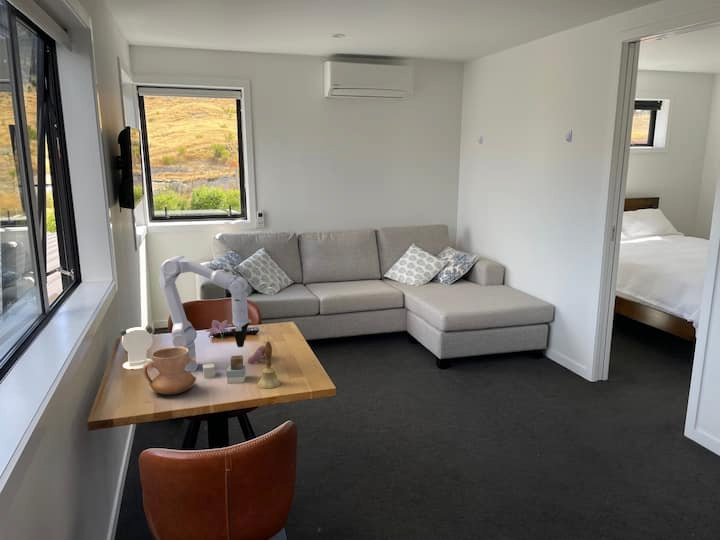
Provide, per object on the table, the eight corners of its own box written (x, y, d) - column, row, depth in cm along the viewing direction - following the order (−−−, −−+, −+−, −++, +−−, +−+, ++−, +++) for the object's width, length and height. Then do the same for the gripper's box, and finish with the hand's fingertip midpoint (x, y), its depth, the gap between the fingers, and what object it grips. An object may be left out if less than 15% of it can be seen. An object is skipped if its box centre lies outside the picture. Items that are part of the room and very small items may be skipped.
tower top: (226, 377, 195) (226, 371, 195) (228, 371, 201) (228, 365, 201) (243, 377, 196) (243, 370, 196) (245, 370, 202) (244, 364, 201)
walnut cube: (231, 369, 196) (230, 359, 195) (232, 366, 200) (231, 355, 199) (242, 369, 197) (241, 358, 196) (243, 365, 200) (242, 355, 200)
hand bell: (266, 378, 200) (264, 337, 197) (285, 381, 197) (283, 340, 194) (252, 386, 193) (250, 343, 190) (272, 390, 189) (270, 347, 186)
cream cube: (204, 378, 201) (203, 368, 200) (203, 374, 204) (202, 364, 203) (215, 377, 202) (214, 366, 201) (214, 373, 206) (213, 363, 205)
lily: (237, 337, 252) (230, 318, 253) (233, 334, 240) (226, 315, 242) (212, 346, 250) (205, 327, 251) (207, 345, 238) (200, 324, 240)
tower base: (227, 384, 196) (226, 377, 195) (229, 377, 202) (229, 371, 201) (243, 383, 196) (243, 377, 196) (245, 377, 202) (245, 370, 202)
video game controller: (256, 368, 214) (262, 353, 212) (246, 362, 215) (252, 348, 213) (265, 359, 224) (271, 345, 222) (255, 354, 224) (262, 340, 222)
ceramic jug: (200, 380, 199) (197, 343, 196) (196, 395, 185) (192, 356, 182) (149, 385, 196) (145, 347, 193) (141, 401, 182) (136, 361, 179)
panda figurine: (153, 357, 223) (150, 322, 220) (157, 365, 213) (153, 329, 210) (121, 362, 218) (118, 326, 215) (124, 371, 208) (120, 334, 205)
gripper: (248, 314, 198) (250, 349, 200) (252, 304, 212) (253, 337, 215) (229, 314, 197) (231, 350, 200) (233, 304, 211) (235, 338, 214)
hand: (241, 343), depth 207 cm, fingers open, 7 cm apart
